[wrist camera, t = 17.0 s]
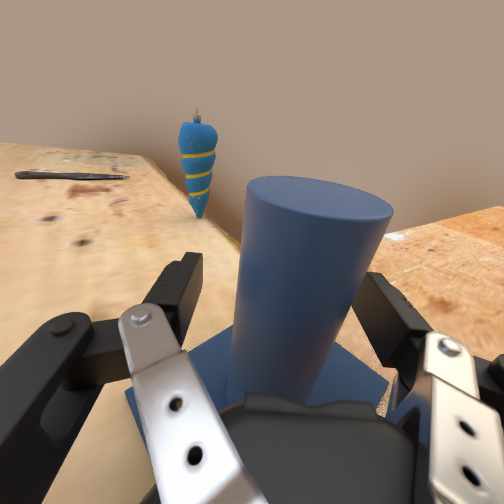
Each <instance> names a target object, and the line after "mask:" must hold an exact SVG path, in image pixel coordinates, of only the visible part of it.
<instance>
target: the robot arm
mask: <svg viewBox="0 0 504 504" xmlns="http://www.w3.org/2000/svg"><path fill="white" fill-rule="evenodd" d="M202 283H203V255H202V253H194V252H186V253H185V255H184V257H183V258H182V260H181V261H173V262H171V263H170V264H168V265H167V266H166V267H165V268H164V270H163V271H162V273H161V275H160V276H159V277H158V279H157V281H156V282H155V284H154V285H153V287H152V288H151V290H150V291H149V293H148V294H147V296H146V297H145V299H144V300H143V302H142V303H141V304H139V305H135V306H133V307H131V308H129V309H128V310H126V311H125V312H124V313H123V314H122V315H121V317H120V318H116V319H111V320H104V321H97V322H91V320H90V317H89V316H88V315H87V314H85V313H81V312H71V313H66V314H62V315H59V316H57V317H54V318H52V319H50V320H49V321H47V322H46V323H44V324H43V325H42V326H41V327H39V328H38V329H37V330H36V331H35V332H34V333H33V334H32V335H31V336H30V337H29V338H28V339H27V340H26V341H25V342H24V343H23V344H22V345H21V346H20V347H19V348H18V349H17V350H16V351H15V352H14V353H13V354H12V355H11V356H10V358H9V359H8V360H7V361H6V362H5V363H4V364H3V365H2V366H1V367H0V504H41V503H42V501H43V500H44V498H45V496H46V494H47V492H48V490H49V488H50V486H51V484H52V483H53V481H54V479H55V477H56V475H57V473H58V471H59V469H60V467H61V466H62V464H63V462H64V460H65V458H66V456H67V454H68V452H69V450H70V449H71V447H72V445H73V443H74V441H75V439H76V437H77V435H78V433H79V432H80V430H81V428H82V426H83V424H84V422H85V420H86V418H87V416H88V415H89V413H90V411H91V409H92V407H93V405H94V403H95V401H96V400H97V398H98V396H99V394H100V392H101V390H102V388H103V386H104V384H106V383H110V382H115V381H119V380H123V379H127V378H131V382H132V386H133V390H134V394H135V398H136V402H137V406H138V410H139V414H140V418H141V423H142V427H143V431H144V435H145V439H146V443H147V447H148V451H149V455H150V459H151V463H152V467H153V471H154V476H155V480H156V484H155V485H154V486H153V487H152V488H151V490H150V491H149V492H148V493H147V494H146V496H145V497H144V498H143V499H142V500H141V502H140V503H139V504H504V354H501V355H499V356H498V357H497V358H496V359H495V360H493V361H492V362H491V361H488V360H485V359H482V358H479V357H476V356H473V355H472V354H471V353H470V351H469V350H468V349H467V348H466V347H465V346H464V345H463V344H461V343H460V342H459V341H457V340H456V339H454V338H452V337H451V336H449V335H446V334H444V333H441V332H435V331H434V330H433V329H432V328H431V327H430V325H429V324H428V323H427V322H426V321H425V320H424V318H423V317H422V316H421V315H420V314H419V313H418V311H417V310H416V309H415V308H413V306H412V304H411V303H410V302H409V301H407V299H406V297H405V296H404V295H403V294H402V293H401V292H400V291H399V290H398V289H396V288H395V287H394V286H392V285H391V284H390V283H389V282H388V281H387V280H386V278H385V277H384V276H383V275H382V274H381V273H375V272H366V274H365V276H364V279H363V281H362V283H361V285H360V287H359V289H358V292H357V294H356V296H355V298H354V300H353V302H352V304H351V306H352V308H353V310H354V312H355V314H356V316H357V318H358V320H359V322H360V324H361V326H362V328H363V329H364V331H365V333H366V335H367V337H368V339H369V341H370V343H371V345H372V347H373V349H374V351H375V353H376V355H377V357H378V358H379V360H380V362H381V364H382V366H383V367H388V368H396V369H397V371H398V372H397V374H396V375H395V376H394V380H393V385H392V390H391V394H390V399H389V404H388V409H387V413H386V416H385V418H384V417H382V416H380V415H377V413H376V411H375V408H374V406H373V403H372V402H366V401H355V400H343V399H341V400H336V401H332V402H328V403H324V404H319V405H315V406H309V405H306V404H303V403H300V402H298V401H295V400H292V399H289V398H287V397H284V396H281V395H279V394H273V393H261V392H250V391H245V394H244V400H243V401H242V402H238V403H235V404H232V405H230V406H228V407H226V408H224V409H222V410H221V411H219V412H217V410H216V408H215V406H214V404H213V402H212V400H211V398H210V396H209V394H208V392H207V390H206V388H205V386H204V384H203V382H202V380H201V378H200V376H199V374H198V372H197V370H196V368H195V365H194V363H193V361H192V359H191V357H190V356H189V354H188V352H187V351H186V350H185V349H184V350H182V349H181V348H182V345H183V342H184V339H185V336H186V333H187V330H188V327H189V324H190V321H191V319H192V316H193V313H194V310H195V307H196V304H197V301H198V298H199V295H200V292H201V289H202Z"/></svg>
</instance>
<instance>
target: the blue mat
mask: <svg viewBox="0 0 504 504" xmlns="http://www.w3.org/2000/svg"><path fill="white" fill-rule="evenodd" d="M232 333H233V325H232V326H230V327H229V328H227V329H225V330H224V331H222V332H220V333H219V334H217V335H215V336H214V337H212V338H211V339H209V340H207V341H206V342H204V343H202V344H201V345H199V346H198V347H196V348H194V349H193V350H191V351H189V352H188V354H189V356H190V357H191V359H192V361H193V363H194V365H195V368H196V370H197V372H198V374H199V376H200V378H201V380H202V382H203V384H204V386H205V388H206V390H207V392H208V394H209V396H210V398H211V400H212V402H213V404H214V406H215V408H216V410H217V412H219V411H221V410H222V409H224V408H226V407H228V403H227V385H228V374H229V364H230V354H231V344H232ZM388 385H389V382H388V381H387V380H385V379H384V378H383V377H381V376H380V375H379V374H377V373H376V372H375V371H373V370H372V369H371V368H369V367H368V366H367V365H365V364H364V363H363V362H362V361H360V360H359V359H358V358H356V357H355V356H354V355H352V354H351V353H350V352H348V351H347V350H346V349H344V348H343V347H342V346H340V345H339V344H338V343H336V342H335V341H334V343H333V345H332V348H331V350H330V352H329V354H328V356H327V358H326V361H325V363H324V365H323V367H322V369H321V371H320V373H319V376H318V378H317V380H316V382H315V384H314V386H313V389H312V391H311V393H310V395H309V397H308V399H307V402H306V405H309V406H315V405H319V404H324V403H328V402H332V401H336V400H341V399H343V400H355V401H366V402H372V403H373V406H374V408H375V410H376V408H377V406H378V404H379V402H380V400H381V398H382V396H383V394H384V392H385V391H386V389H387V387H388ZM125 394H126V397H127V399H128V402H129V404H130V407H131V410H132V412H133V415H134V417H135V420H136V422H137V425H138V427H139V430H140V433H141V435H142V438H143V440H144V443H145V445H146V448H147V450H148V447H147V443H146V439H145V435H144V431H143V427H142V423H141V418H140V414H139V410H138V406H137V402H136V398H135V394H134V390H133V386H132V387H131V388H129V389H127V390H126V391H125ZM148 453H149V451H148ZM149 456H150V455H149Z"/></svg>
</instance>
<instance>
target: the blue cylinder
mask: <svg viewBox="0 0 504 504" xmlns="http://www.w3.org/2000/svg"><path fill="white" fill-rule="evenodd" d="M392 216H393V208H392V207H391V205H390V204H388V203H387V202H385V201H384V200H382V199H381V198H379V197H377V196H375V195H372V194H370V193H368V192H365V191H362V190H359V189H356V188H353V187H349V186H345V185H341V184H337V183H333V182H328V181H323V180H317V179H311V178H303V177H292V176H267V177H260V178H256V179H253V180H251V181H250V182H249V183H248V185H247V190H246V201H245V212H244V221H243V231H242V241H241V251H240V262H239V272H238V282H237V292H236V303H235V313H234V323H233V333H232V344H231V354H230V364H229V374H228V385H227V403H228V406H230V405H232V404H235V403H238V402H242V401H243V400H244V394H245V391H250V392H261V393H273V394H279V395H281V396H284V397H287V398H289V399H292V400H295V401H298V402H300V403H303V404H306V402H307V399H308V397H309V395H310V393H311V391H312V389H313V386H314V384H315V382H316V380H317V378H318V376H319V373H320V371H321V369H322V367H323V365H324V363H325V361H326V358H327V356H328V354H329V352H330V350H331V348H332V345H333V343H334V341H335V339H336V337H337V335H338V333H339V330H340V328H341V326H342V324H343V322H344V320H345V317H346V315H347V313H348V311H349V309H350V307H351V304H352V302H353V300H354V298H355V296H356V294H357V292H358V289H359V287H360V285H361V283H362V281H363V279H364V276H365V274H366V272H367V270H368V268H369V266H370V264H371V261H372V259H373V257H374V255H375V253H376V251H377V248H378V246H379V244H380V242H381V240H382V238H383V235H384V233H385V231H386V229H387V227H388V225H389V223H390V220H391V218H392Z"/></svg>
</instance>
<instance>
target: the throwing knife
mask: <svg viewBox="0 0 504 504" xmlns="http://www.w3.org/2000/svg"><path fill="white" fill-rule="evenodd" d="M15 176H16V178H71V179H108V178H127V177H128V176H123V175H109V174H90V173H44V172H33V171H23V172H17V173H15Z"/></svg>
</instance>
